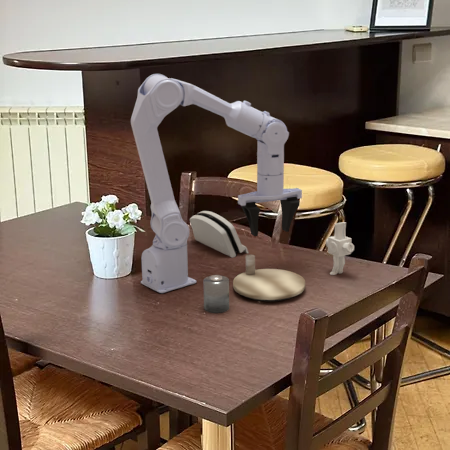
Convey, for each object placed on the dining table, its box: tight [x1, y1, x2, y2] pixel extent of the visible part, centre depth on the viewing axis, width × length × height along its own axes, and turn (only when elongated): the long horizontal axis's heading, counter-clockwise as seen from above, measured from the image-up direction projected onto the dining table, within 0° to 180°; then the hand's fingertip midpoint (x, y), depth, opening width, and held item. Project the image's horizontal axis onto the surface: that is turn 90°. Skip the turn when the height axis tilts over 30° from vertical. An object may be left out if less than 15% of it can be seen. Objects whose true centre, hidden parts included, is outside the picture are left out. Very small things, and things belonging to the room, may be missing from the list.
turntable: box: [232, 254, 306, 300], centre depth 161 cm, size 15×15×5 cm
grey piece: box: [189, 210, 250, 258], centre depth 188 cm, size 17×5×10 cm, turn 34°
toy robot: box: [325, 221, 355, 276], centre depth 169 cm, size 4×8×12 cm, turn 34°
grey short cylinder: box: [203, 274, 230, 314], centre depth 153 cm, size 5×5×7 cm
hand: (270, 232), depth 171 cm, fingers open, 7 cm apart
